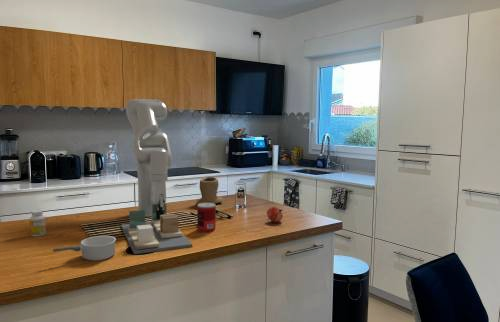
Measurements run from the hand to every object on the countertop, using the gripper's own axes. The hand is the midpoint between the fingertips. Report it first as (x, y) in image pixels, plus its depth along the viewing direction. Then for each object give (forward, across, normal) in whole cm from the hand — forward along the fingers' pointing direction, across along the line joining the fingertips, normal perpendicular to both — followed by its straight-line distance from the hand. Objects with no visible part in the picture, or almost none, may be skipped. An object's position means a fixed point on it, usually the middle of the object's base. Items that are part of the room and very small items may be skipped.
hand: (159, 217), depth 174 cm
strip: (+2, +11, 0) cm, 12 cm away
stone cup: (+3, -31, +35) cm, 47 cm away
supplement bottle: (+3, -4, -48) cm, 48 cm away
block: (+1, +27, -11) cm, 29 cm away
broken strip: (+2, +21, -11) cm, 24 cm away
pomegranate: (+3, +15, +50) cm, 52 cm away
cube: (+1, +19, 0) cm, 19 cm away
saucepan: (+3, +32, -32) cm, 45 cm away
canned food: (+3, +15, +17) cm, 23 cm away
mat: (+3, +16, -6) cm, 17 cm away
